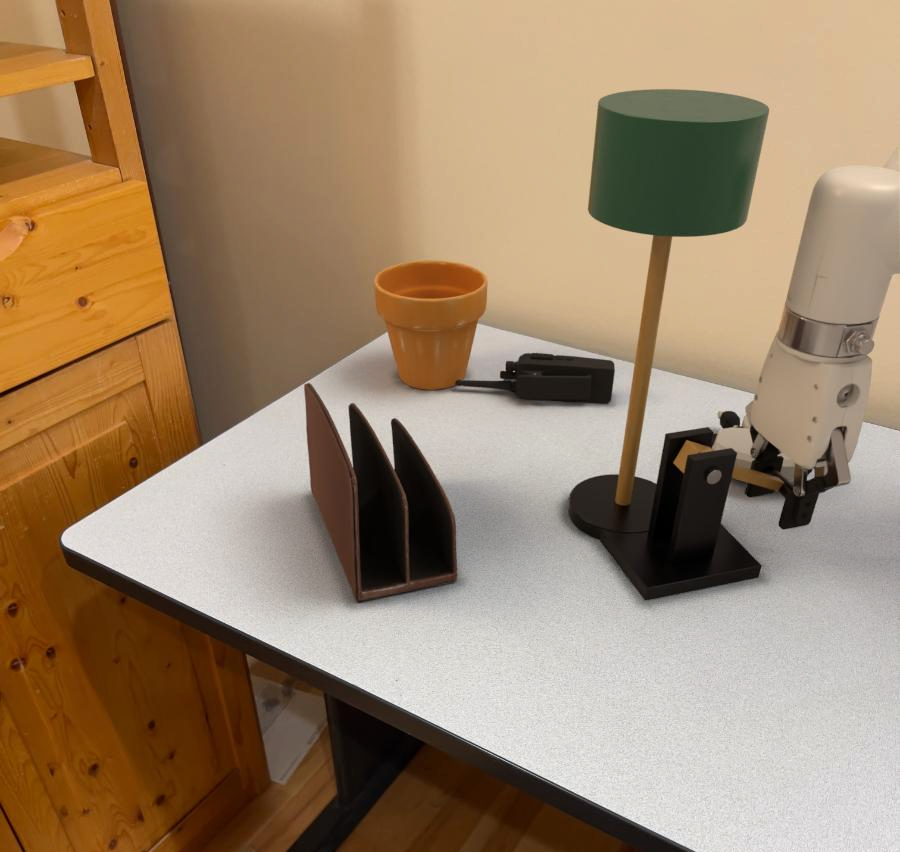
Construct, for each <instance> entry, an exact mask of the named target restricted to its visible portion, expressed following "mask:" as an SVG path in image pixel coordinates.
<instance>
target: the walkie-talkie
mask: <svg viewBox="0 0 900 852" xmlns="http://www.w3.org/2000/svg"><path fill="white" fill-rule="evenodd" d="M615 368H616V367H615V363H614V361H613V360H611V359H602V358H594V357H585V356H584V357H583V356H576V355H562V354H557V355H555V354H552V353H543V352H542V353H541V352H531V353H530V352H526V353H523V354H520V356H519V357H518V360H516V361H513V360H506V361H505V369H504V370H500V372H499V379H501V380H473V379H472V380H471V379H466V380H465V379H463V380H456V382H455V386H456V387H469V388H481V389H483V388H484V389H493V390H501V391H513V392H515V393H514V395H515V397H516V398H517V399H521V400H537V401H553V402H554V401H555V402H575V403H576V402H577V403H579V402H580V403H610V402H612V397H613V388H614V380H615V373H616V370H615ZM512 380H513V381H512Z"/></svg>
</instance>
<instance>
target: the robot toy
mask: <svg viewBox="0 0 900 852" xmlns="http://www.w3.org/2000/svg"><path fill="white" fill-rule="evenodd" d="M717 418H718V420H719V425H720V427H721V428H720V429H719V430H718V432H717V433H716V432H715V433H713V438H712V442H711V447H710V448H711V449H712V450H713V451H716V450H722V449H728V448H732V449H733V450H735V451H736V452H737V457H736V461H735V465H738V466H741V467H745V468H748V469H750V468H751V464H752V461H753V460H755V459H753V458H752V457H751V455H750V449H751V447H752V445H753V442H752V438H751V434H750V427H751V426H750V424H749V421H748V418H747V415H746V414H745V415H744V416H743V418H742V422H741V418H740V416H739V415H738V414H737V412H735V411H733V410H724V411H723V410H718V411H717ZM778 456H782V457H783V458H784V460H783V465H782V468H781V472H780V473H781V474H782V475H783V476H784V477H785V478H786V479H788V480H789V481H790V482H791V483H792V484H793V483H794V468H795V462H794V461H792V460H791V459H790V458H789V457H787V456H786V455H785V454H784V453H782V452H781V453H780V454H779V455H778ZM812 472H813V473H814V474H815V468H813V469H808V474H807V477H808V476H809V475H810V474H811V473H812Z"/></svg>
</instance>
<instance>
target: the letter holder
mask: <svg viewBox="0 0 900 852" xmlns="http://www.w3.org/2000/svg"><path fill="white" fill-rule="evenodd" d="M303 386H304V387H303V391H304V405H305V423H306V424H305V425H306V427H305V429H306V443H307V455H308V467H309V482H310V483H309V484H310V485H309V486H310V491H311V495H312V497H313V500H314V502H315V504H316V506H317V509H318V511H319V513H320V516H321V518H322V521H323V524H324V526H325V528H326V531H327V534H328V536H329V539H330V541H331V543H332V546H333V548H334V551H335V553H336V555H337V558H338V560H339V563H340V565H341V567H342V571H343V573H344V575H345V577H346V580H347V582H348V585H349V588H350V590H351V593H352V596H353V598H354V600H355V602H356V603H358V604H360V603H363V602H366V601H369V600H374V599H379V598H383V597H388V596H393V595H397V594H403V593H408V592H413V591H417V590H422V589H427V588H431V587H437V586H441V585H446V584H451V583H455V582H457V580H458V558H457V557H458V556H457V555H458V554H457V524H456V517H455V513H454V510H453V508H452V505H451V503H450V500H449V498H448V496H447V493H446V492H445V490H444V488H443V486H442V485H441V483H440V482H439V479H438V477H437V475H436V474H435V473H434V470H433V469H432V467H431V465H430V463H429V462H428V460H427V459H426V457H425V456H424V454H423V451H421V449H420V448H419V446H418V444H417V443H416V441H415V440H414V438H413V437H412V435H411V434H410V432H409V431H408V430H407V428H406V427H405V426H404V425H403V423H401V421H400V420H399V419H398V418H396V417H393V418H392V419H391V420H390V426H391V439H392V452H393V453H392V454H393V465H392V463H391V460H390V458H389V457H388V454H387V452H386V451H385V448H384V447H383V445H382V443H381V441H380V439H379V437H378V436H377V434H376V432H375V430H374V429H373V427H372V426H371V424H370V422H369V421H368V419H367V418H366V416H365V415H364V413H363V411H361V409H360V408H359V407H358V406H357V404H356V403H354V402H351V403H349V405H348V418H349V435H350V448H351V459H352V462H351V459H350V456H349V454H348V452H347V449H346V447H345V445H344V441H343V440H342V437H341V435H340V433H339V430H338V428H337V426H336V424H335V422H334V420H333V417H332V416H331V414H330V411H329V409H328V408H327V406H326V405H325V403H324V401H323V400H322V398H321V396H320V395H319V393H318V392H317V390H316V388H315V387H314V386H313V384H311V383H310V382H307V383H304V385H303ZM393 466H394V467H393Z"/></svg>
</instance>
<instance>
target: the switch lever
mask: <svg viewBox="0 0 900 852" xmlns="http://www.w3.org/2000/svg"><path fill="white" fill-rule="evenodd" d="M710 451H713V450H712V449H711V448H710V447H708V446H704V445H701V444H698V443H695V442H691V441H688V440H686V442H685V444H684V445H683V447H682V449H681V450H680V452H679V454H678V455H677V457H676V459H675V461H674V462H673V463H674V464H675V465H676V466H677V467H678V468H679V469H680V470H681V471H682V472H683V473H684V471H685V466H686V460H687V456H688V455H691V454H697V453H704V452H710ZM731 479H733V480H737V481H740V482H744V483H746V484H747V483H751V484H754V485H758V486H761V487H765V488H768V489H772V490H775V492H777V493H778V494H779V495H780V496H781V497H782V498H784V499H785V497H786V494H787V492H788V491H792V490H793V483H791V482H790V481H789V480H788V479H786V478H785V477H784V476H783V475H782V474H781V473H779V472H778V471H777V470H776V469H775V468H774V467H767V468H766V469H765V470H764V471H763V472H758V471H755V470H751V469H748V468H745V467H741V466H738V465H734V469H733V474H732V478H731Z"/></svg>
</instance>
